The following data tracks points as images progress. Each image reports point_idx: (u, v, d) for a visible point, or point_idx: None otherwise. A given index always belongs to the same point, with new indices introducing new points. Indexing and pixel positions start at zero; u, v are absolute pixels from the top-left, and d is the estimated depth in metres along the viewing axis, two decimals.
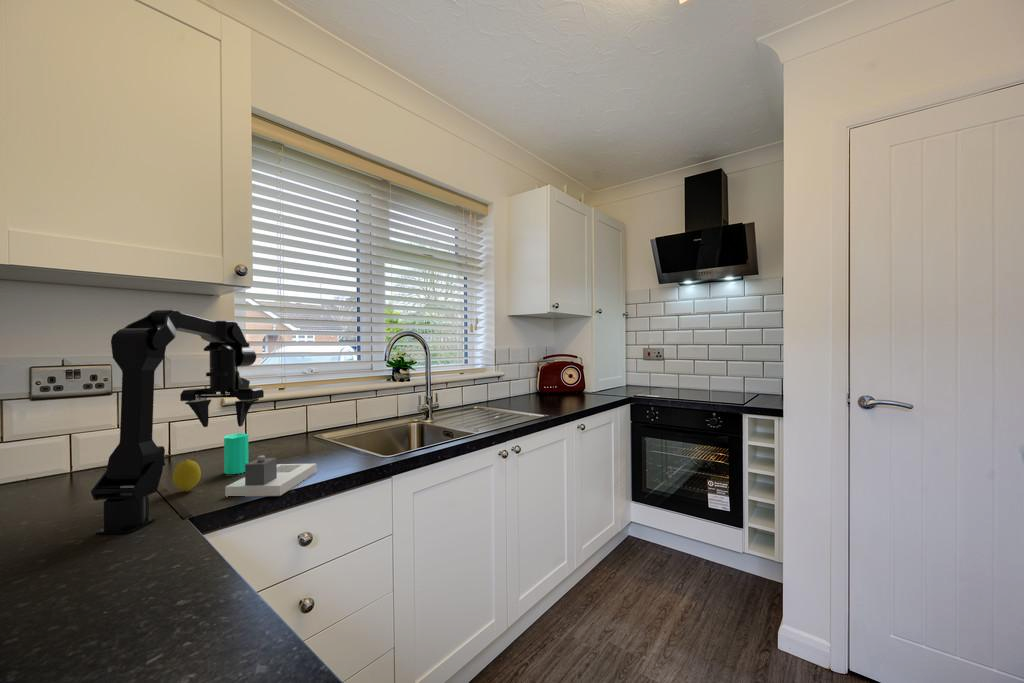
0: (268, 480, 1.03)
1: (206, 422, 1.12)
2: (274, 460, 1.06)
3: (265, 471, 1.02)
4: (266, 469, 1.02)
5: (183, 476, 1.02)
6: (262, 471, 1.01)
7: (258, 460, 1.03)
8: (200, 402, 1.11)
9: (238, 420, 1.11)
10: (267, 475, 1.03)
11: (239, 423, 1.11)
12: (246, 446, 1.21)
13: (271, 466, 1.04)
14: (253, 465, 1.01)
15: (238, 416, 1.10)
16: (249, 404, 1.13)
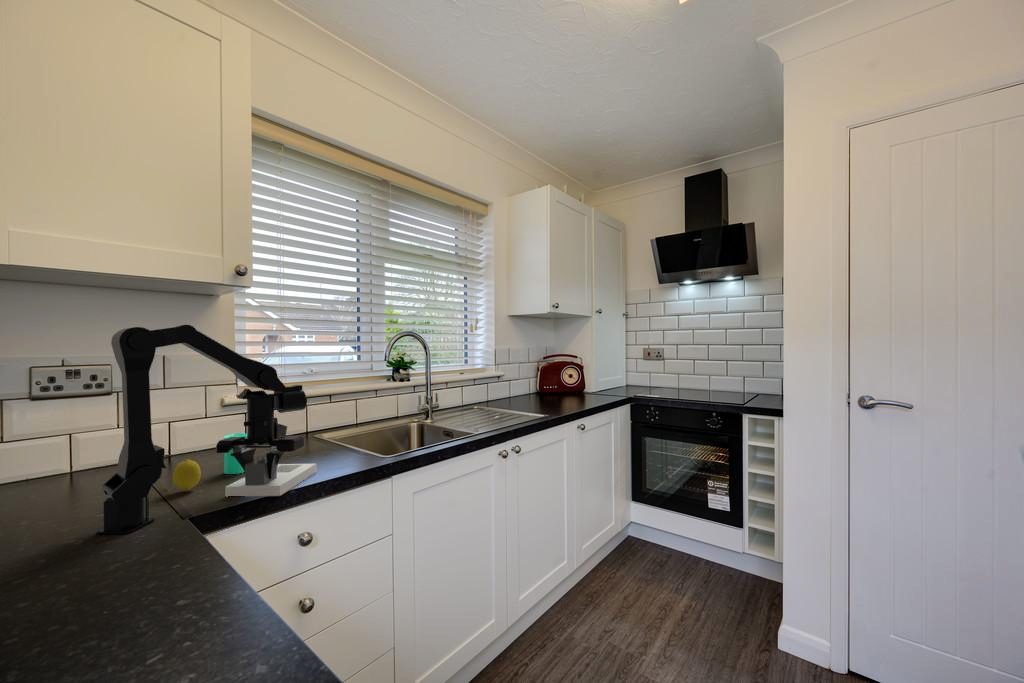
0: (268, 480, 1.03)
1: None
2: None
3: (265, 471, 1.02)
4: (266, 469, 1.02)
5: (183, 476, 1.02)
6: (262, 471, 1.01)
7: (258, 460, 1.03)
8: (246, 453, 1.03)
9: (269, 473, 1.03)
10: (267, 475, 1.03)
11: (270, 476, 1.03)
12: None
13: None
14: (253, 465, 1.01)
15: (269, 468, 1.02)
16: (280, 454, 1.05)
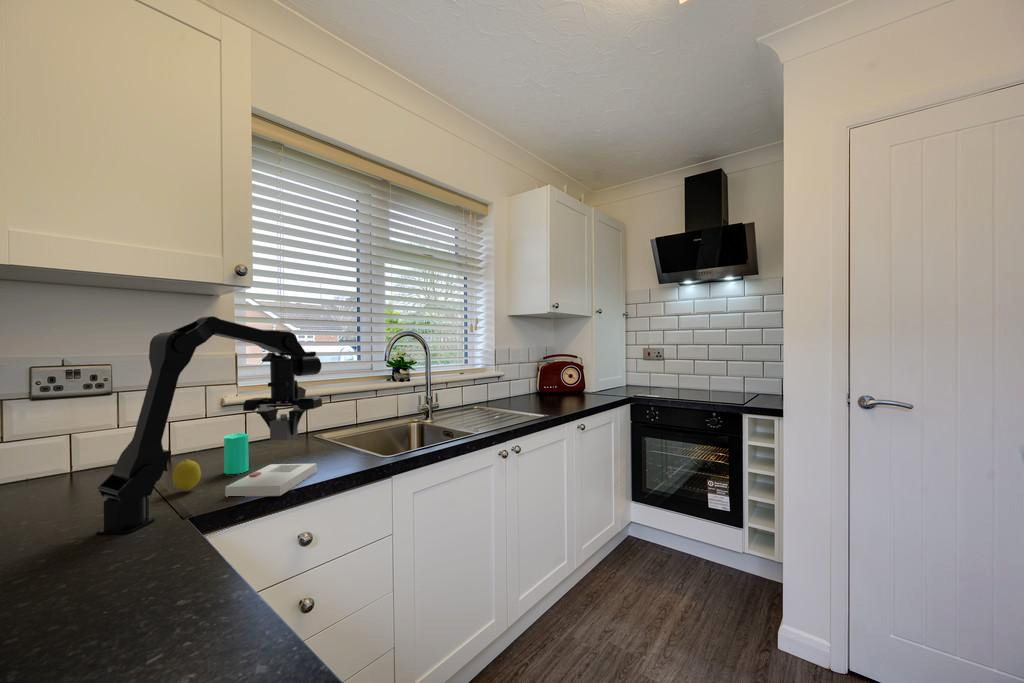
0: (290, 436, 1.13)
1: None
2: None
3: (288, 427, 1.12)
4: (289, 426, 1.12)
5: (183, 476, 1.02)
6: (285, 427, 1.11)
7: (281, 418, 1.13)
8: (270, 411, 1.13)
9: (291, 429, 1.13)
10: (290, 431, 1.13)
11: (292, 432, 1.13)
12: (246, 446, 1.21)
13: None
14: (277, 422, 1.11)
15: (291, 425, 1.12)
16: (301, 413, 1.15)
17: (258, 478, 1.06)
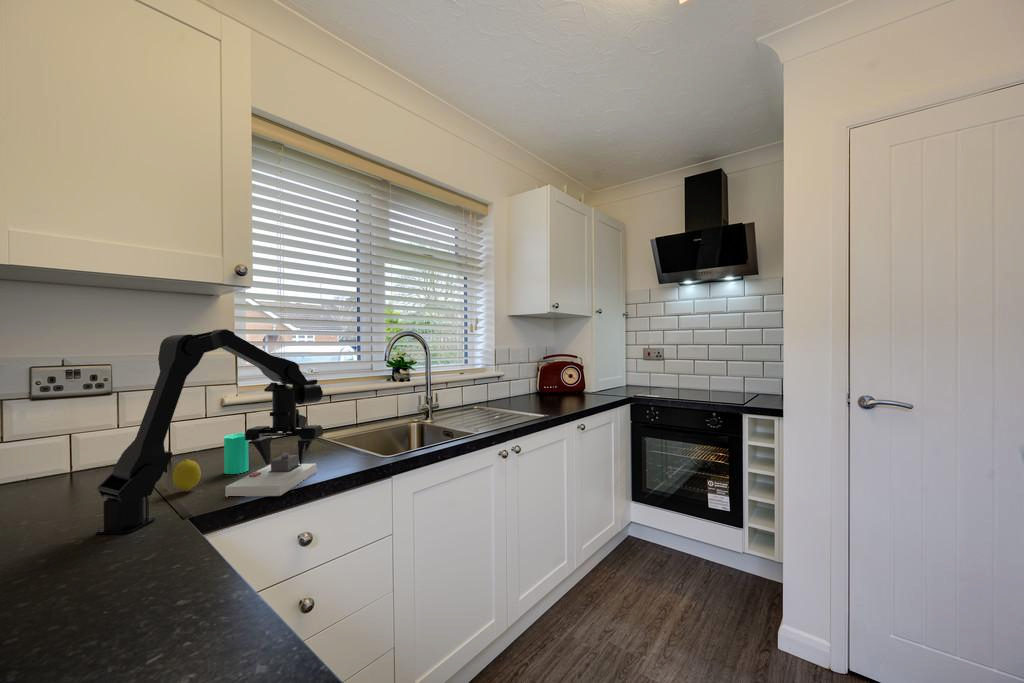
0: None
1: (269, 460, 1.15)
2: (296, 457, 1.16)
3: (289, 466, 1.13)
4: (290, 465, 1.13)
5: (183, 476, 1.02)
6: (286, 466, 1.12)
7: (282, 456, 1.14)
8: (263, 441, 1.13)
9: (300, 458, 1.14)
10: (291, 470, 1.13)
11: (300, 461, 1.14)
12: (246, 446, 1.21)
13: (294, 462, 1.15)
14: (278, 461, 1.12)
15: (300, 454, 1.13)
16: (309, 442, 1.16)
17: (258, 478, 1.06)
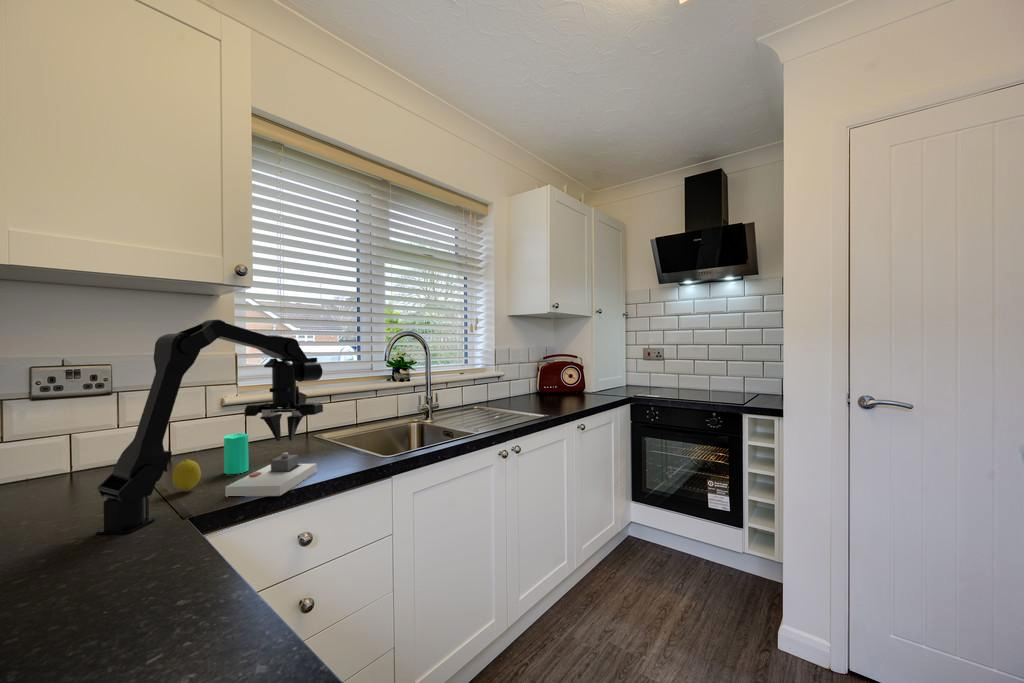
0: None
1: (279, 436, 1.15)
2: (296, 457, 1.16)
3: (289, 466, 1.13)
4: (290, 465, 1.13)
5: (183, 476, 1.02)
6: (286, 466, 1.12)
7: (282, 456, 1.14)
8: (274, 417, 1.14)
9: (289, 435, 1.14)
10: (291, 470, 1.13)
11: (290, 437, 1.14)
12: (246, 446, 1.20)
13: (294, 462, 1.15)
14: (278, 461, 1.12)
15: (289, 431, 1.13)
16: (299, 419, 1.16)
17: (258, 478, 1.06)
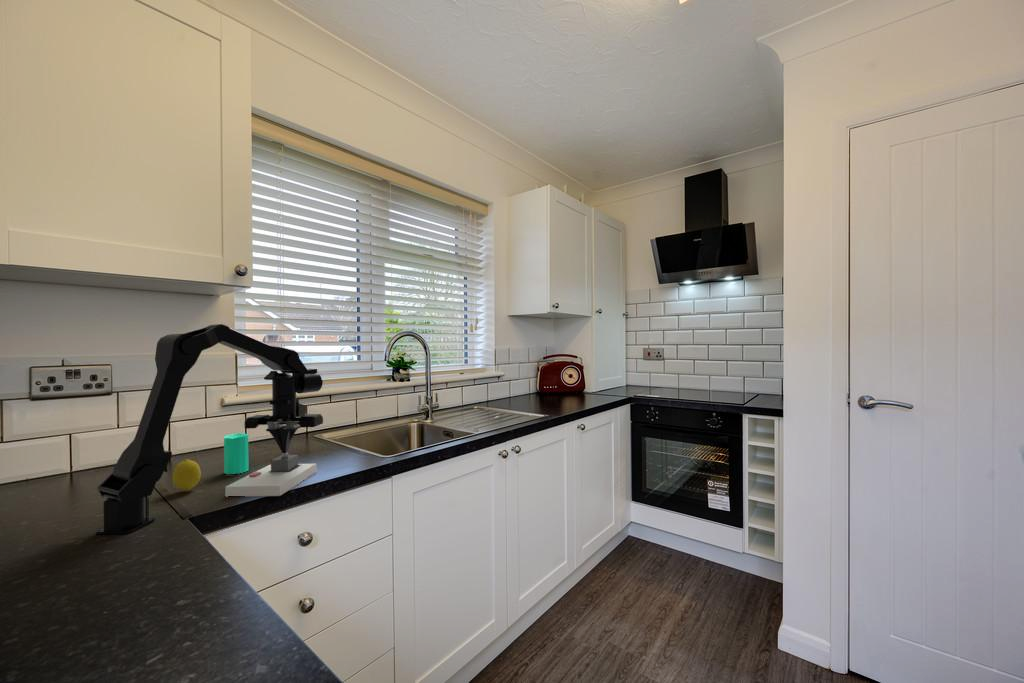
0: None
1: None
2: (296, 457, 1.16)
3: (289, 466, 1.13)
4: (290, 465, 1.13)
5: (183, 476, 1.02)
6: (286, 466, 1.12)
7: (282, 456, 1.14)
8: (279, 429, 1.14)
9: (284, 447, 1.14)
10: (291, 470, 1.13)
11: (284, 450, 1.14)
12: (246, 446, 1.20)
13: (294, 462, 1.15)
14: (278, 461, 1.12)
15: (284, 443, 1.13)
16: (293, 431, 1.16)
17: (258, 478, 1.06)
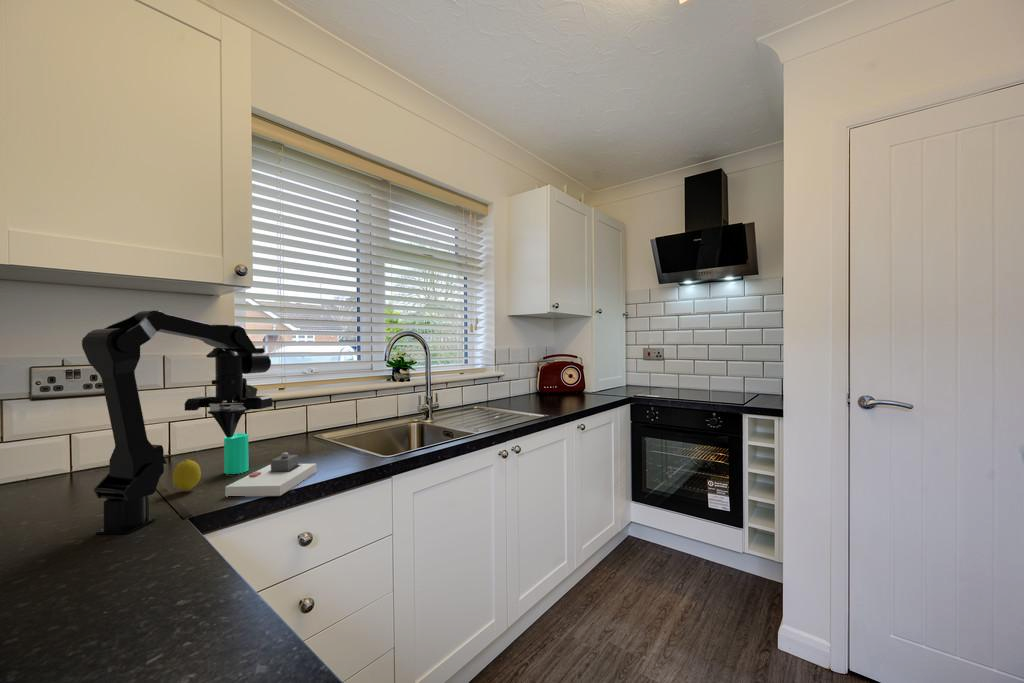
0: None
1: None
2: (296, 457, 1.16)
3: (289, 466, 1.13)
4: (290, 465, 1.13)
5: (183, 476, 1.02)
6: (286, 466, 1.12)
7: (282, 456, 1.14)
8: (223, 411, 1.05)
9: (228, 431, 1.05)
10: (291, 470, 1.13)
11: (229, 434, 1.05)
12: (246, 446, 1.21)
13: (294, 462, 1.15)
14: (278, 461, 1.12)
15: (228, 427, 1.04)
16: (240, 414, 1.07)
17: (258, 478, 1.06)
